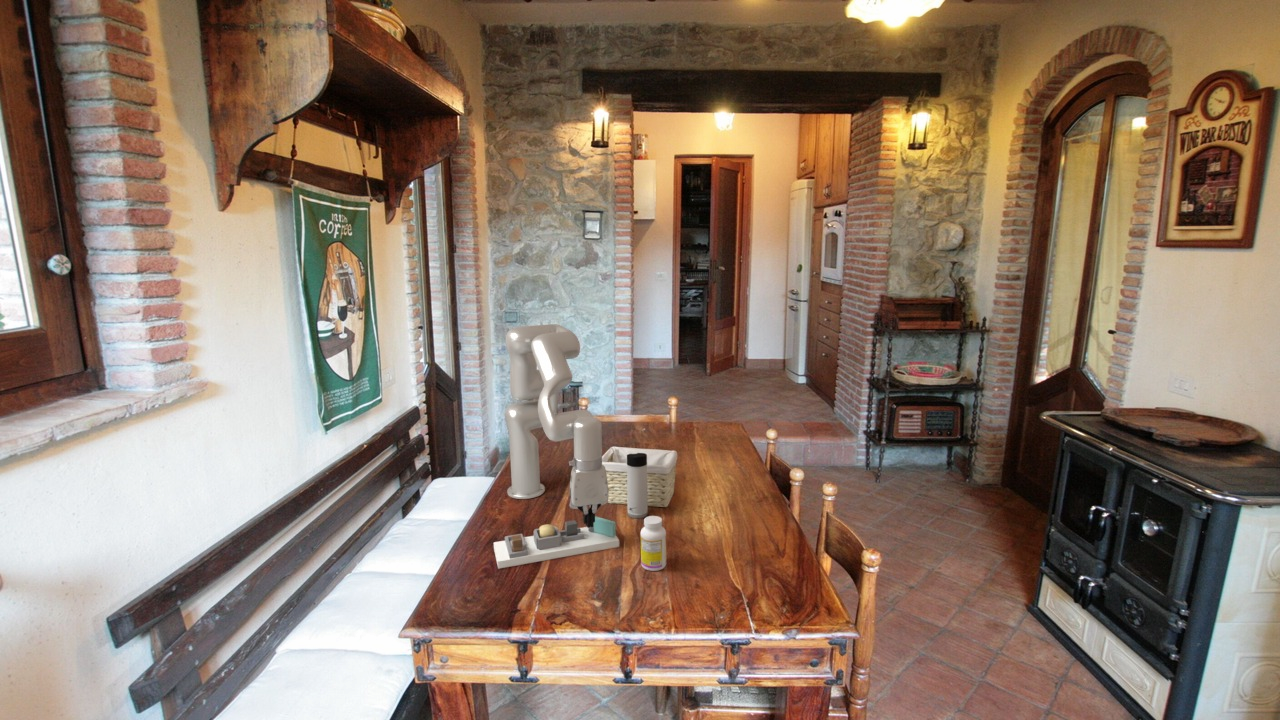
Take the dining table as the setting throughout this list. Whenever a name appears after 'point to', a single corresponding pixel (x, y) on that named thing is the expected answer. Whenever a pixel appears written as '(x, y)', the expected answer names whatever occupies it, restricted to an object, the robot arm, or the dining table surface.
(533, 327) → the robot arm
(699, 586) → the dining table surface
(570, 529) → the grey rectangular block
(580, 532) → the board
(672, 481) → the storage basket
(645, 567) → the supplement bottle
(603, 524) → the teal lever handle
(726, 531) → the dining table surface
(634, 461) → the travel mug
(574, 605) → the dining table surface
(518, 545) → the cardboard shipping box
